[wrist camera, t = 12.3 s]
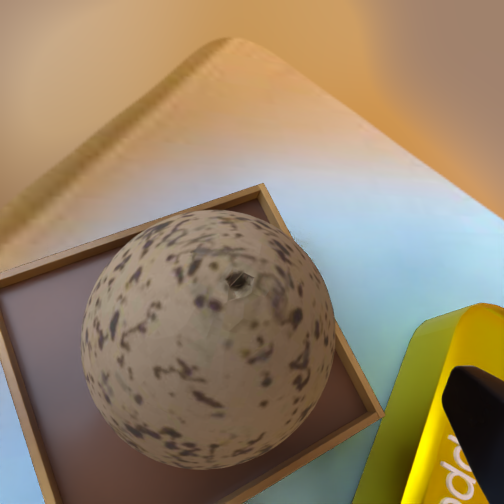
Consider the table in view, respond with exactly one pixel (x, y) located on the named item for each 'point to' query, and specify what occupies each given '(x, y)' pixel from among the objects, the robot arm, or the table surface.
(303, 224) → the table surface
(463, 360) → the element tile
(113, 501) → the shallow square tray
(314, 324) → the decorative egg
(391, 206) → the table surface
